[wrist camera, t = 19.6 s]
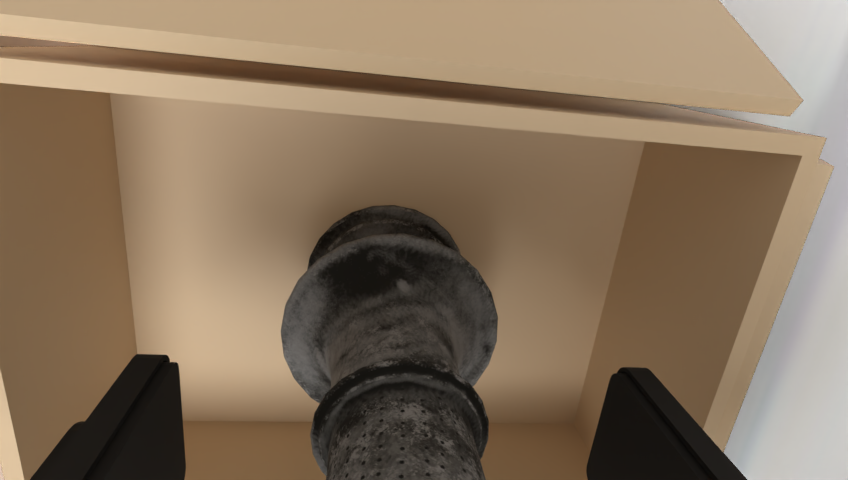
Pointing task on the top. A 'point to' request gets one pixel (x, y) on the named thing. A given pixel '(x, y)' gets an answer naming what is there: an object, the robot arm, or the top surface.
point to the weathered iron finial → (392, 349)
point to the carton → (389, 185)
